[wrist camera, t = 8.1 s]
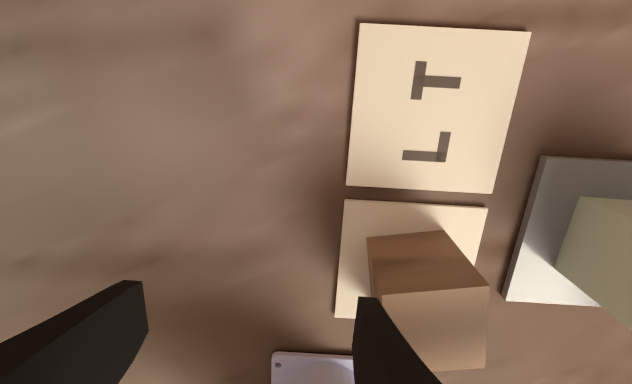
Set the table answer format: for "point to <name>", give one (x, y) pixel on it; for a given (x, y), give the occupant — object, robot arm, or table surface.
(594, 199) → the sage block
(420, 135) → the tile
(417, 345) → the walnut block
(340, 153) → the table surface
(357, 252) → the plain tile
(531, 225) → the light grey square plate
